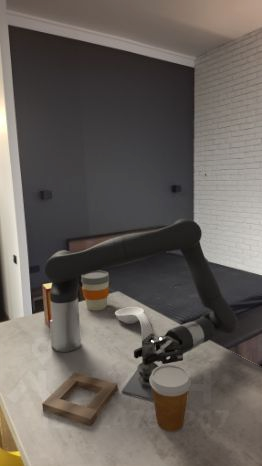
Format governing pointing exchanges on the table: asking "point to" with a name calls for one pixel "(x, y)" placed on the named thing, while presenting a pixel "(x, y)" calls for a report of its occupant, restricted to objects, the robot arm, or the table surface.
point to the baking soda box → (47, 302)
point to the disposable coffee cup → (170, 395)
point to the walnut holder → (75, 411)
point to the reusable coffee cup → (95, 289)
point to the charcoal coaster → (138, 388)
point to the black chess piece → (143, 369)
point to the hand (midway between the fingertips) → (139, 358)
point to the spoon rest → (135, 319)
